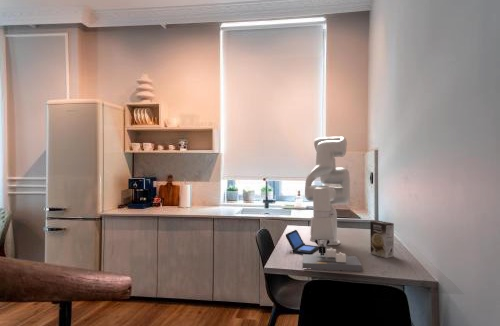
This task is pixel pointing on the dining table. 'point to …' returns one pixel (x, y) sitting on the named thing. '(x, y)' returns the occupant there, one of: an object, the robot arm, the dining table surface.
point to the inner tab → (331, 252)
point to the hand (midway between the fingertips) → (322, 254)
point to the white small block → (340, 257)
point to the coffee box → (382, 238)
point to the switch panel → (331, 263)
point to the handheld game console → (299, 244)
